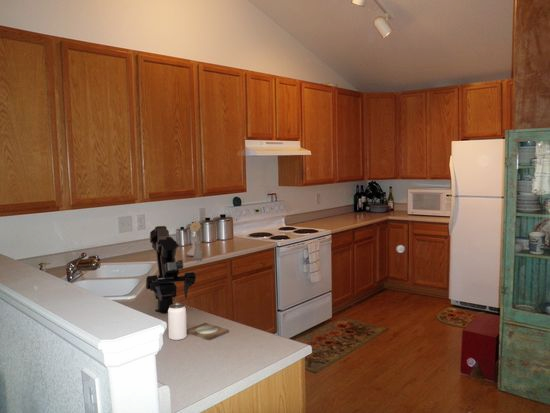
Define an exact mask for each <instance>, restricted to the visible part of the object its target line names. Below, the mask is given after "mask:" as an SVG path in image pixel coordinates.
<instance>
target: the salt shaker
mask: <svg viewBox="0 0 550 413" xmlns="http://www.w3.org/2000/svg"><path fill="white" fill-rule="evenodd" d="M201 244H202V243H201V241H200V240H196V242H195V251H194V256H193V259H194V261H195V260H200V261H202V259H203V251H202V248H201ZM201 251H202V252H201Z"/></svg>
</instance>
